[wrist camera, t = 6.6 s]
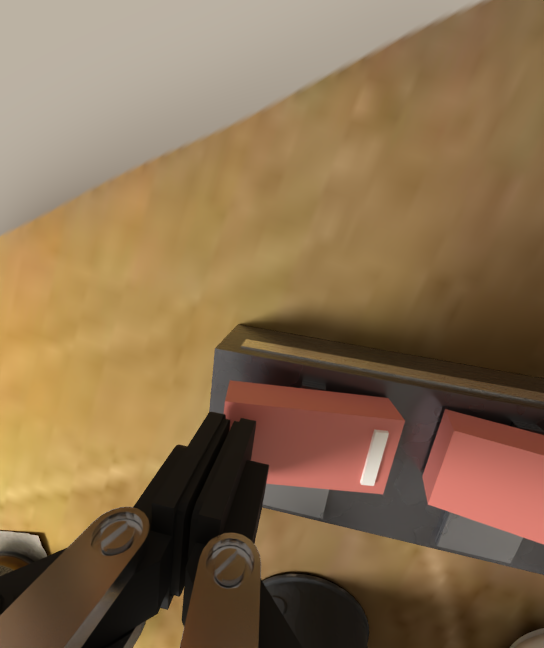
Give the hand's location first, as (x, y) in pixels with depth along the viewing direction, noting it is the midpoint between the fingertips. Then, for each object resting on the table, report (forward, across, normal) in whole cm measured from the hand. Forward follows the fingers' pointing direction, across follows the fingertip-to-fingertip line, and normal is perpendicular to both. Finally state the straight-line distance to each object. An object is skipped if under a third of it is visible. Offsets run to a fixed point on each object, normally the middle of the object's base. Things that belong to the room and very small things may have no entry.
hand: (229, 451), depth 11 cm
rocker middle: (+2, -11, 0) cm, 11 cm away
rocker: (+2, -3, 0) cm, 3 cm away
